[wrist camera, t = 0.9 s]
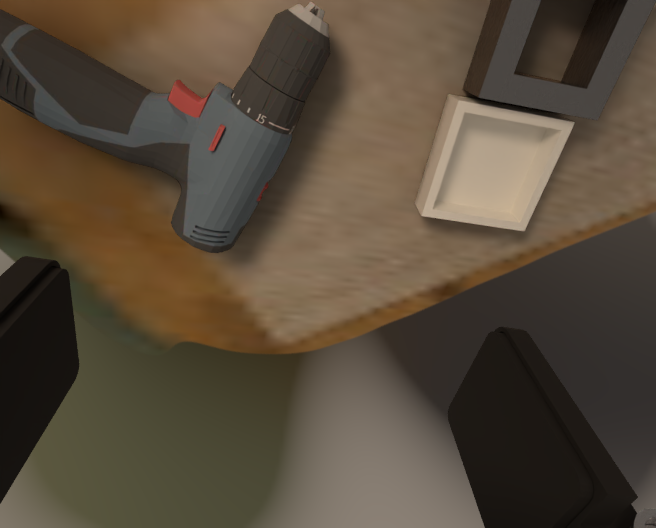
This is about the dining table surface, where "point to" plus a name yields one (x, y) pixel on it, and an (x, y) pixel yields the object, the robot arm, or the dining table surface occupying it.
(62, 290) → the robot arm
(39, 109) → the power drill
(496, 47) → the block
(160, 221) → the dining table surface
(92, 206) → the dining table surface
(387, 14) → the dining table surface
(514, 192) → the tray
